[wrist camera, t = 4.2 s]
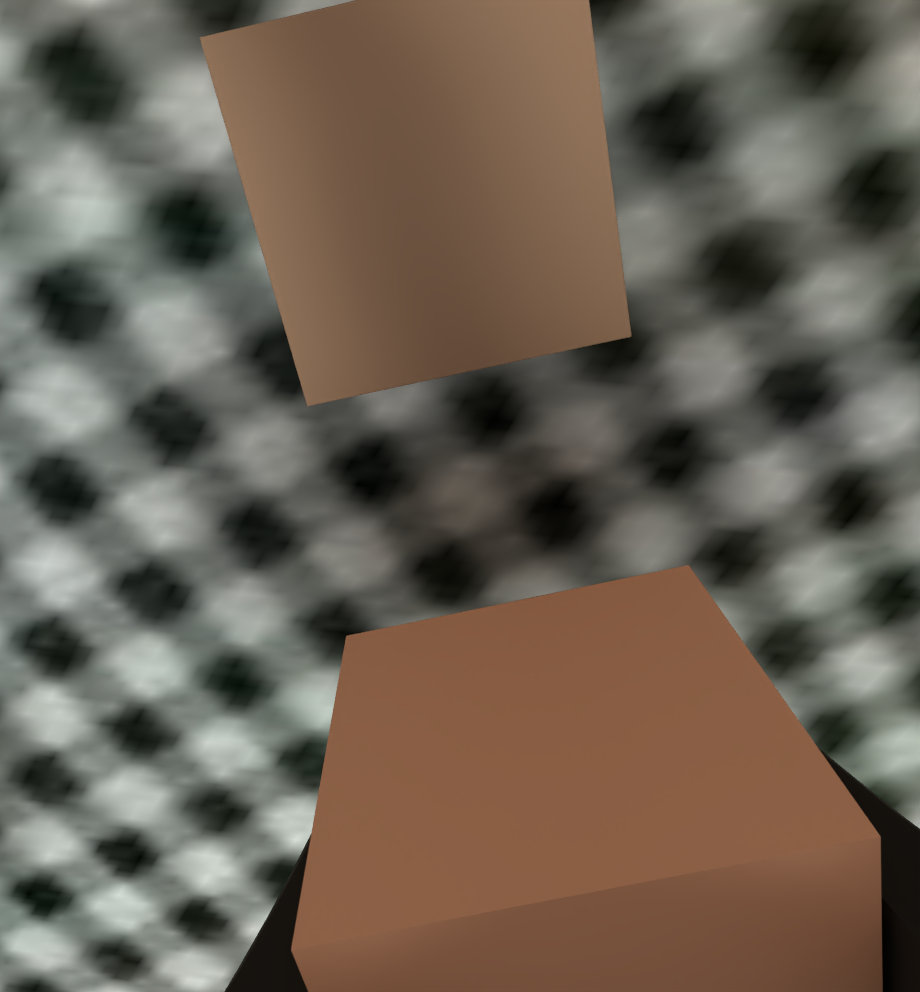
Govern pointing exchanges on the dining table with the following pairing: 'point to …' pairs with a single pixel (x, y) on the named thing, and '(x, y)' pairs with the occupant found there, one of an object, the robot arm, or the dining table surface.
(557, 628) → the terracotta block
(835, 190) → the dining table surface
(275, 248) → the walnut block
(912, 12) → the dining table surface
